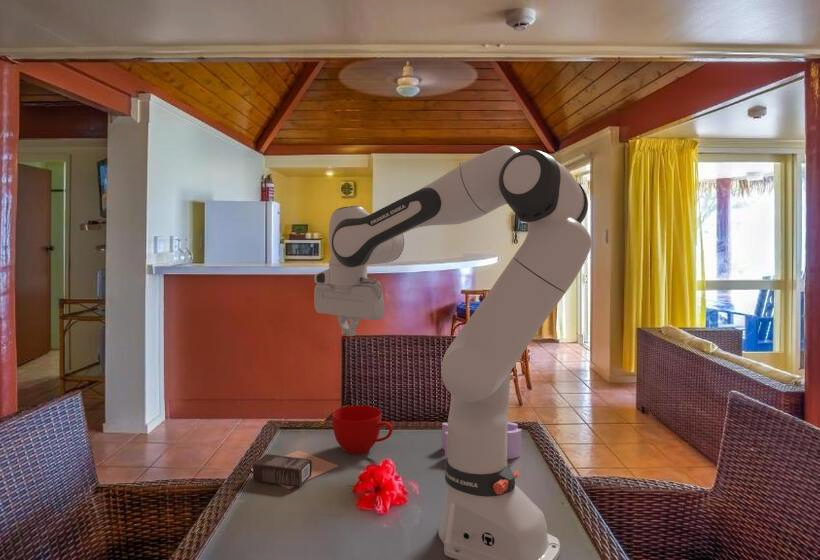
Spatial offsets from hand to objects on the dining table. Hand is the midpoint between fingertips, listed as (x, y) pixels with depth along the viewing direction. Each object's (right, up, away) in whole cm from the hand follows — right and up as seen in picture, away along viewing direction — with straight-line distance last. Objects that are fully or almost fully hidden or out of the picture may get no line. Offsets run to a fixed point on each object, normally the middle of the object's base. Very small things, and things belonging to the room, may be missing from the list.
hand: (348, 335), depth 125 cm
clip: (+33, -33, +14) cm, 49 cm away
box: (-9, -31, -4) cm, 33 cm away
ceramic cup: (+2, -32, +15) cm, 36 cm away
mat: (-14, -33, +4) cm, 36 cm away
